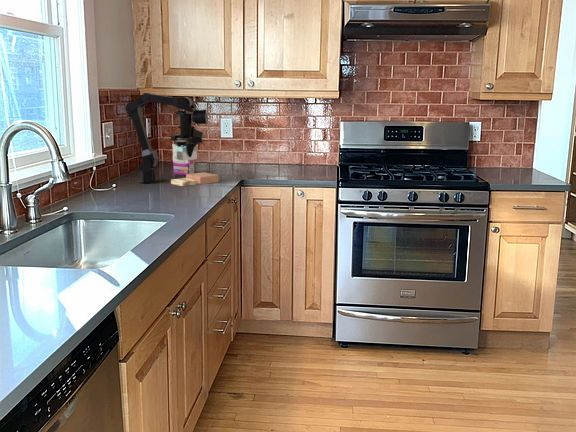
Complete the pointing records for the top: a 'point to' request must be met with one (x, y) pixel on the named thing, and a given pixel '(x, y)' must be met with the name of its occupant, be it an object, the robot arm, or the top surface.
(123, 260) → the top surface
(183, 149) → the housing cover
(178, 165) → the candy bar box
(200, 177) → the terracotta riser
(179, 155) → the housing base
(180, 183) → the birch board
